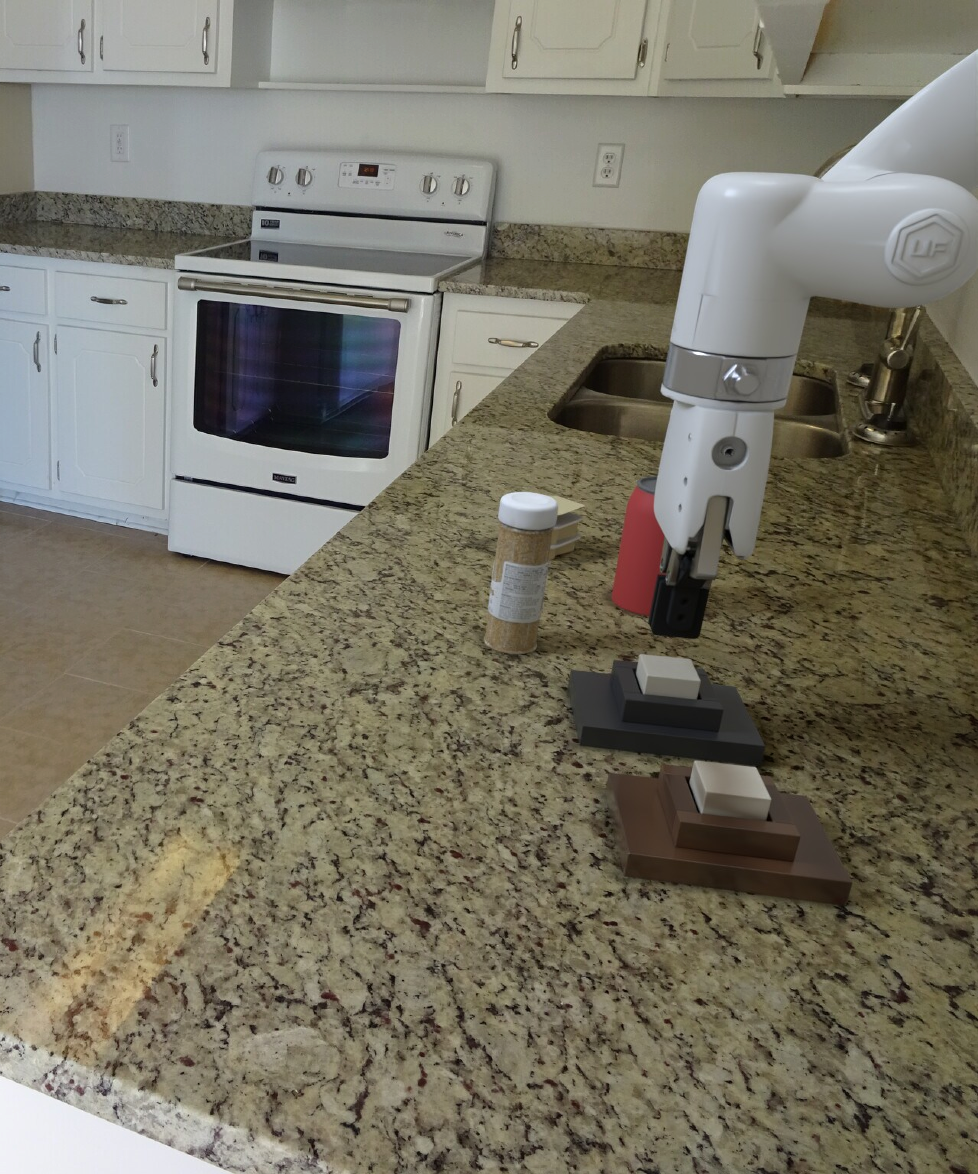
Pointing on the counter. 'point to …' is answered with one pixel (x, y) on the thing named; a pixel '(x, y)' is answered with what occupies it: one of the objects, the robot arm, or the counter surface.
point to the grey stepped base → (662, 718)
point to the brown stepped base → (723, 841)
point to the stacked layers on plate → (565, 527)
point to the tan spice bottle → (520, 571)
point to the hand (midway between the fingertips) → (672, 632)
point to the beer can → (639, 551)
